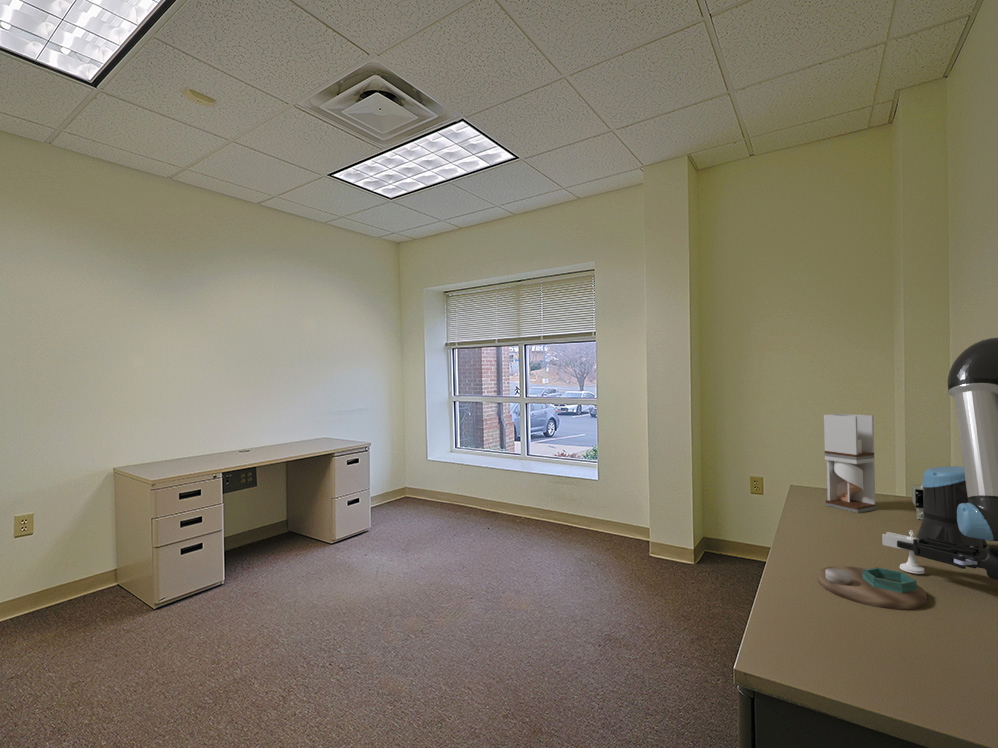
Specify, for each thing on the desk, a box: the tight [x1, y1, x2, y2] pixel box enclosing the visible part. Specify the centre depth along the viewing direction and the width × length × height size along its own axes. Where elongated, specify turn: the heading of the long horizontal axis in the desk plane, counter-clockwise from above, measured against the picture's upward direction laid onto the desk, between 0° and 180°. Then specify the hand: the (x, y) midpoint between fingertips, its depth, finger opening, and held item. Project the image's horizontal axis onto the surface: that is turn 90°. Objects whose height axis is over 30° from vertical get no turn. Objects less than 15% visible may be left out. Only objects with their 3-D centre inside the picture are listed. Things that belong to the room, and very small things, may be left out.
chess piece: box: [899, 529, 926, 575], centre depth 123 cm, size 5×5×10 cm
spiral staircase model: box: [823, 413, 876, 514], centre depth 184 cm, size 11×11×35 cm
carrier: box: [817, 565, 928, 611], centre depth 113 cm, size 20×20×4 cm
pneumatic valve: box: [911, 483, 924, 521], centre depth 168 cm, size 6×12×12 cm, turn 145°
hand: (885, 538), depth 127 cm, fingers closed on chess piece, 2 cm apart
